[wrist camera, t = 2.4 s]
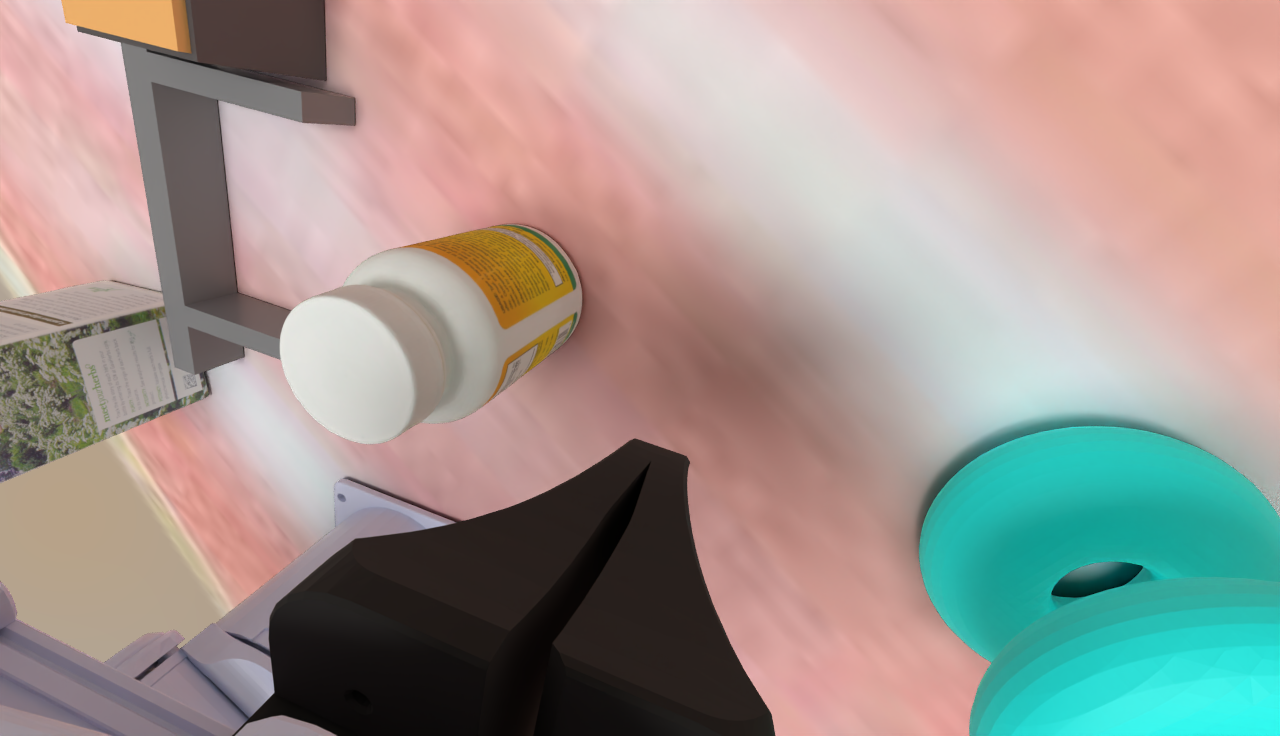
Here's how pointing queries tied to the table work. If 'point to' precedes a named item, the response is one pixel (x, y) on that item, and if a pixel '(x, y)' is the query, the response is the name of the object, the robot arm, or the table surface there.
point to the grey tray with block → (209, 143)
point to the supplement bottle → (430, 331)
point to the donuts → (1116, 618)
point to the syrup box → (84, 370)
